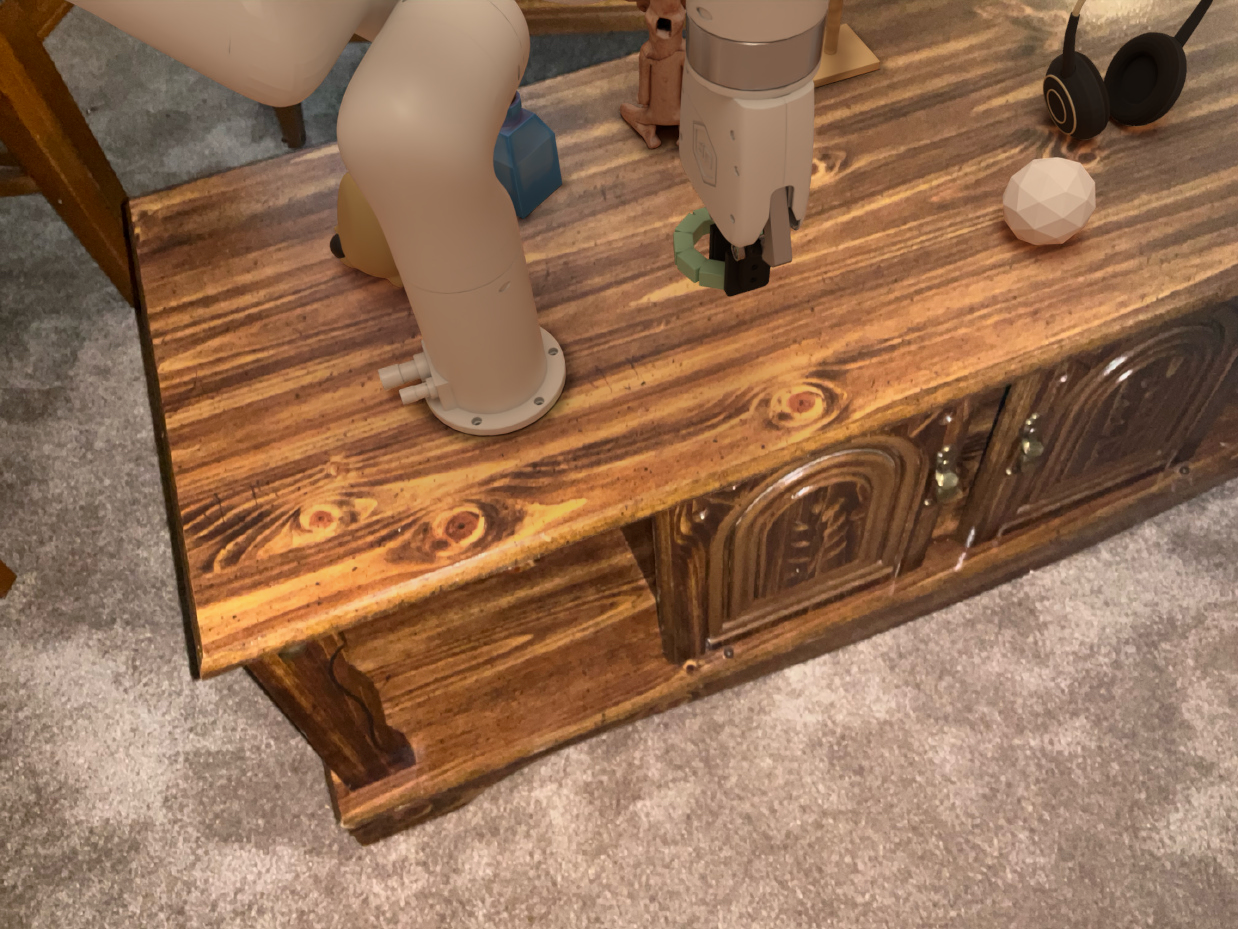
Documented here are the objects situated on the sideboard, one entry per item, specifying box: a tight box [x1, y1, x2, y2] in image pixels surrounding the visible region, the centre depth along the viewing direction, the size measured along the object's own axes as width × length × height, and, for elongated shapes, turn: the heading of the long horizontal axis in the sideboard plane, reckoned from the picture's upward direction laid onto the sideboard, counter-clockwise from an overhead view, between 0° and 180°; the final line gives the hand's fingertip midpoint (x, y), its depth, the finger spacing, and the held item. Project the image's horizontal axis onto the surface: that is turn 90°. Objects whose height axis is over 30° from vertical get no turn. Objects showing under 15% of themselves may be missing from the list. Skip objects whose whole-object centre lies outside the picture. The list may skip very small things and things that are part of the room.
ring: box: [672, 206, 763, 291], centre depth 69 cm, size 7×7×1 cm
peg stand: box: [813, 0, 881, 89], centre depth 102 cm, size 8×8×11 cm
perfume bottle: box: [493, 90, 563, 220], centre depth 93 cm, size 6×6×12 cm
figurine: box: [619, 0, 686, 149], centre depth 94 cm, size 10×8×20 cm
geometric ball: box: [1002, 156, 1096, 246], centre depth 86 cm, size 8×8×8 cm
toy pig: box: [329, 171, 404, 288], centre depth 90 cm, size 10×12×11 cm
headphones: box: [1042, 0, 1214, 141], centre depth 89 cm, size 9×15×20 cm, turn 105°
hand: (738, 274), depth 68 cm, fingers closed on ring
